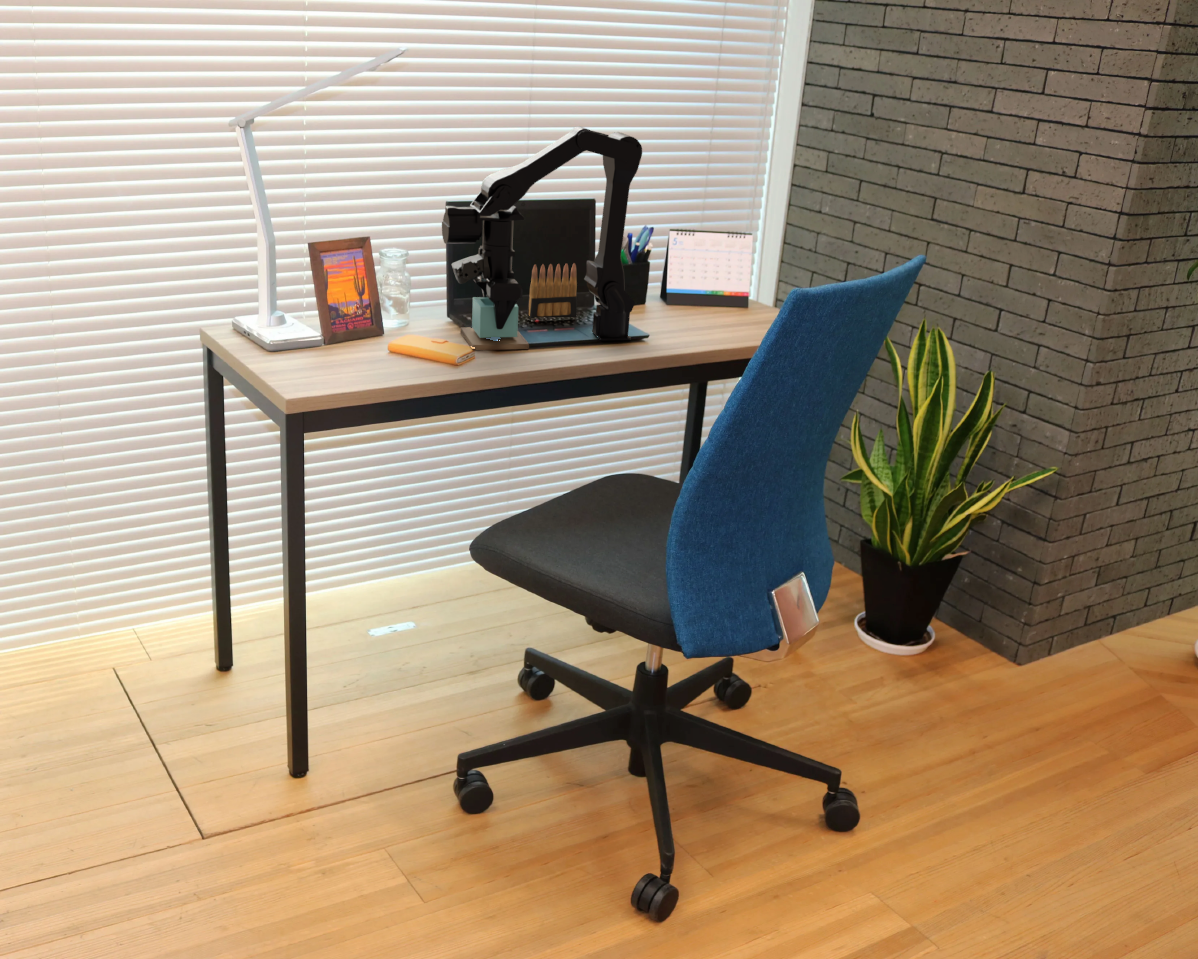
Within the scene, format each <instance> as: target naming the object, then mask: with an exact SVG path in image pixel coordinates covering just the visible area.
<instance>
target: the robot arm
mask: <svg viewBox="0 0 1198 959" xmlns="http://www.w3.org/2000/svg"><path fill="white" fill-rule="evenodd" d="M586 151H587V152H589V153H590V152H591V153H594V154H598V155H600V156H602V165H603V170H604V175H605V180H606V184H605V192H604V201H603V208H602V218H601V219H602V220H601V223H600V224H601V225H600V232H599V233H600V235H599V242H598V250H597V251H598V252H597V255H596V256H595V258H594V260H586V272H585V276H584V278H583V280H584V281H585V282H586V288H587V290H588V291H589V292H590V293H591V294H592V295H593V296H594V299H595V303H596V302H597V303H598V304H596V308H595V312H593V315H592V316H593V317H592V327H591V328H592V329H591V333H592V332H593V333H594V334H595V335H596V336H598V337H599V338H600V339H599V338H598V339H599V341H602V342H603V341H605V342H606V341H631V339H632V337H631V336H630V335H629V330H630V327H629V326H630V318H631V317H630V316H631V312H632V311H633V309H634V307H635V305H636V302H635V300H633V298H632V297H631V296H630V295H629V294H628V292H626V290H625V288H626V286H625V285H626V284H625V282H626V280H625V271H624V267H623V261H622V251H623V250H622V249H623V243H624V242H623V241H624V234H625V226H626V218H627V212H628V211H627V210H628V202H629V195H630V186H631V183H632V181H633V180H634V178H635V176H636V174H637V172H638V171H639V166H640V163H641V160H642V156H643V146H642V144H641V143H640V141H639V139H637V138H636V137H634V136H631V135H628V134H626V133H623V132H619V131H617V132H612V133H610V134H606V133H602V132H599V131H594V130H592V129H591V130H590V129H588V128H586V127H583V126H580V125H579V126H576V127H573V128H572V129H571V130H570V131H569V132H567V133H566V134H564V135H562V137H560V138H558V139H557V140H555V141H553V142H552V143H550V144H549V145H547V146H546V147H544V148H543V149H541V150H540V151H538V152H537V153H535V154H534V155H532V156H530V157H529V158H527V159H526V160H524V161H523V162H521V163H518V164H516V165H514V166H513V165H512V166H509V167H506V168H502V169H500V170H498V171H495V172H492V173H491V174H489V175H487V176H486V177H484V179H483V180H482V183H481V187H480V191H479V193H478V194H477V195H476V196H475V198H474V199H473V200H472V201H471V203H470V205H469V206H455V205H446V206H445V210H444V211H445V212H444V214H443V218H442V221H441V235H442V240H443V243H444V244H446V245H447V244H450V245H451V244H452V245H453V244H462V245H463V244H476V242H477V241H480V239H481V238H482V245H480V246H479V247H478V251H477V252H478V253H477V254H474V255H471V256H468V257H465V258H462V259H459V260H456V261H454V262H452V263H451V268H452V270H453V273H454V276H455V280H456V281H457V283H458V284H459V285H461V284H462V285H463V284H466V283H468V281H471V280H473V281H474V282H475V284H476V285H477V286H478V287H479V288H480V289H481V292H482V297H488V298H489V299H490V300H491V301H492V302H493V305H494V313H495V321H496V328H497V329H503V327H504V325H505V323H506V321H507V319H508V317H509V315H510V313H511V311H512V310H513V308H514V306H515V304H517V302H518V301H520V299H523V296H524V295H523V294H524V288H523V286H522V284H520V283H519V282H518V281H517V280H516V279H515V273H514V271H513V269H512V268H513V267H512V266H513V258H515V257H516V251H515V250H514V249H513V242H514V241H513V240H514V239H513V238H514V222H515V221H517V222H518V221H519V222H520V221H524V220H525V216H524V215H522V213H521V212H520V211H519V209H518V207H517V206H515V205H516V204H517V203H518V202H519V201H520V200H521V199H522V198H523V197H524V196H525V195H526V194H527V193H528V191H529V189H530V188H531V187H532V186H533V185H535V184H536V183H537V182H539V181H540V180H542V179H543V178H545V177H547V176H548V175H549V174H551V173H553V172H554V171H557V169H559V168H561V167H562V166H564V165H565V164H567V163H568V162H570V161H571V160H573V159H574V158H576V157H577V156H579V155H581V154H582V153H584V152H586ZM593 333H592V334H593ZM594 334H593V335H594ZM595 335H594V336H595ZM628 335H629V336H628ZM596 336H595V337H596Z"/></svg>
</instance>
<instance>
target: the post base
mask: <svg viewBox="0 0 1198 959" xmlns="http://www.w3.org/2000/svg"><path fill="white" fill-rule="evenodd" d="M471 327H472V326H471ZM471 327H470V326H469V327H467V326H466V327H464V326H463V327H460V334H461V335H462V336H463V339H465V341H466V342H467V344H468V345H469V347H470V346H472V347H475V349H476V350H475V351H490V350H492V351H493V350H496V351H497V350H529V349H530V343H529V342H528V341H527V339H526V338H525V337H524V336H523V334H522V333H521V332H520V331H519V330H518V332H517V337H500V338H501V339H498V341H493V340H490V339H486V338H480V337H479V336H478V335H477V333H476V332H475V331H474V329H473V328H471ZM499 340H500V341H499Z"/></svg>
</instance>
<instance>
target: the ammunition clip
mask: <svg viewBox="0 0 1198 959" xmlns="http://www.w3.org/2000/svg"><path fill="white" fill-rule="evenodd" d="M553 268H554V267H553V264H552V263H550V264H549V265H548V269H547V276H546V268H545V265H544V263H542V265H541V266H540V270H539V278H538V267H537V264H534V265H533V267H532V270H531V279H530V281H531V282H530V286H529V296H528V304H527V311H526V312H527V315H526V317H527V316H528V315H529V316H530V318H534V317H577V316H578V315H577V314H578V312H577V310H578V308H577V304H578V302H577V301H578V296H577V286H578V285H577V284H578V282H577V265H576V263H575V262H573V264H572V267H571V270H569V265H568V263H565V265H564V266H563V271H562V270H561V265H560V263H558V264H557V265H556V267H555V272H554V270H553ZM569 271H570V272H569ZM561 272H562V273H561ZM569 274H570V278H569ZM561 276H562V279H561Z"/></svg>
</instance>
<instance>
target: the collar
mask: <svg viewBox="0 0 1198 959" xmlns="http://www.w3.org/2000/svg"><path fill="white" fill-rule="evenodd" d="M471 311H472V312H471V313H472V315H471V316H472V317H471V327H472V328H473V329H474V331H475V332H476V333H477V335H478V336H479V337H480V338H491V337H517V332H518V331H519V329H518V327H519V306H518V304H517V303H516V304H515V306H514V308H513V310H512V311H511V313H510V315H509V317H508V319H507V321H506V323H505V325H504V327H503V329H497V328H496V321H495V313H494V305H493V302H492V301H491V300H490V299H489V298H488V297H483V296H479V297H478V296H477V297H476V296H473V297H472V310H471Z"/></svg>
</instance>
